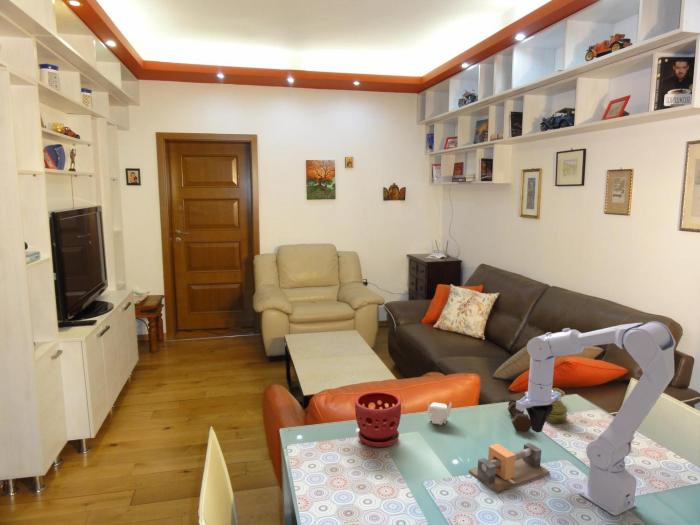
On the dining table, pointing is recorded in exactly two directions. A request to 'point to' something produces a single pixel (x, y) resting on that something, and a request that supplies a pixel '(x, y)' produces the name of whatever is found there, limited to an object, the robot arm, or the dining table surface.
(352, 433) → the dining table surface
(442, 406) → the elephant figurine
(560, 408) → the olive green vase
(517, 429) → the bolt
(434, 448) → the dining table surface
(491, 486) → the sliding block rail
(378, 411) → the plant pot
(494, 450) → the collar
